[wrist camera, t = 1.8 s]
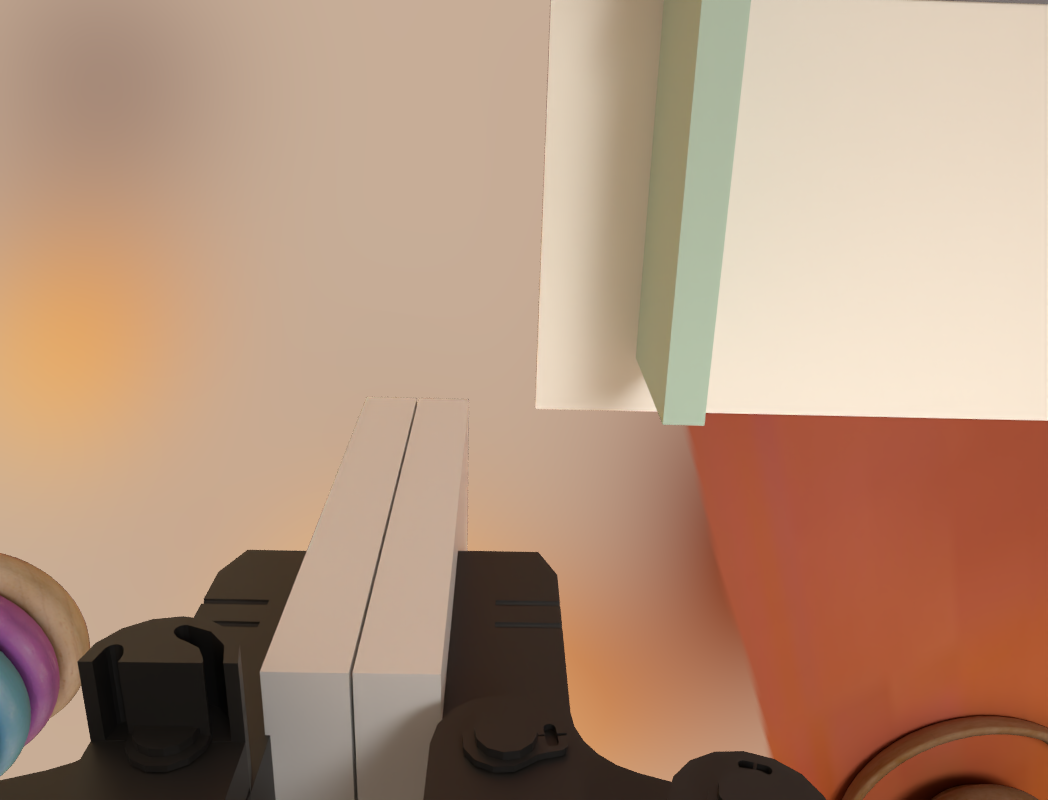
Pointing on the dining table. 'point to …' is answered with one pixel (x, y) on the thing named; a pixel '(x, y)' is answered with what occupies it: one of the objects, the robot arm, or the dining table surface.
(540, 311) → the card
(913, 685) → the dining table surface
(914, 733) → the place setting
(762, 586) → the dining table surface
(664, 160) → the green fence panel
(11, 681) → the stacking toy
